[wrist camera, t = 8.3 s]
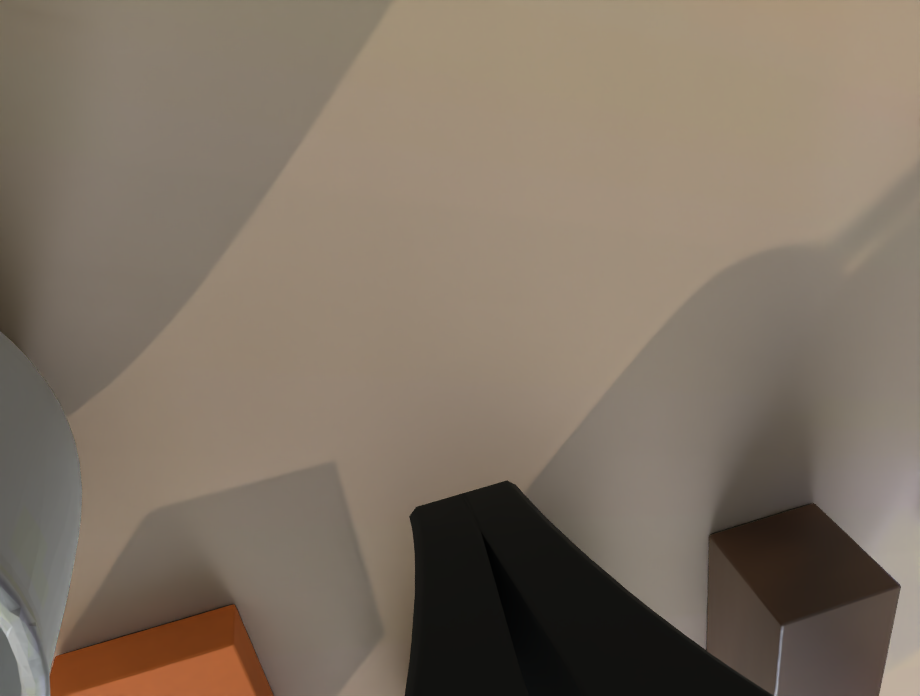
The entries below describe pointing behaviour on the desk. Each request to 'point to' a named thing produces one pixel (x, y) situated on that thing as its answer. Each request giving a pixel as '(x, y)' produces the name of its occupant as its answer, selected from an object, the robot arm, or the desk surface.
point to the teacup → (33, 522)
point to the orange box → (167, 662)
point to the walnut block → (799, 606)
